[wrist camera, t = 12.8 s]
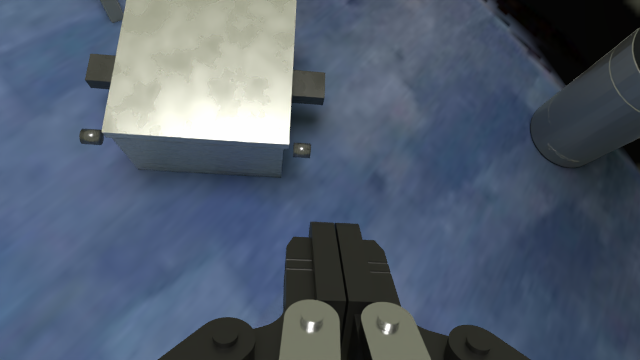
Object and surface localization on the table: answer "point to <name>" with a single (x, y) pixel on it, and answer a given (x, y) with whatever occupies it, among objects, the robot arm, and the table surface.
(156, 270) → the table surface
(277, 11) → the lid
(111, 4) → the lighter
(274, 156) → the grey rectangular box
